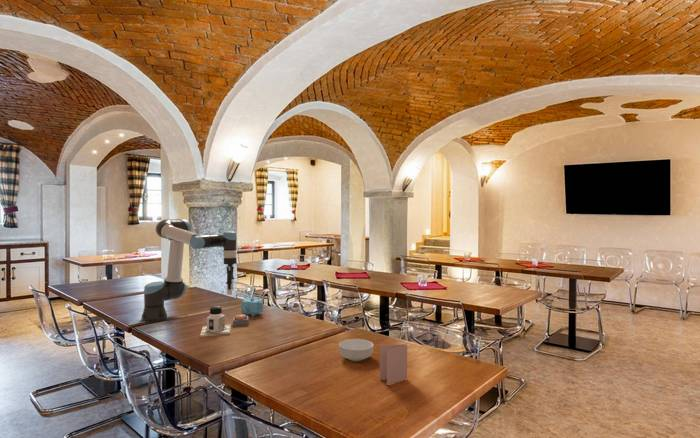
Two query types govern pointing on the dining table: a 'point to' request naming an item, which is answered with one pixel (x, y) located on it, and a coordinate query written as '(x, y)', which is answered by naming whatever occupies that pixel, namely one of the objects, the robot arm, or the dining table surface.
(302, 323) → the dining table surface
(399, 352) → the greeting card
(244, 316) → the button
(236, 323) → the button box
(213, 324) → the container
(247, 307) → the teapot
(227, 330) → the drawing board
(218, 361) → the dining table surface
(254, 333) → the dining table surface
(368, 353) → the cereal bowl
